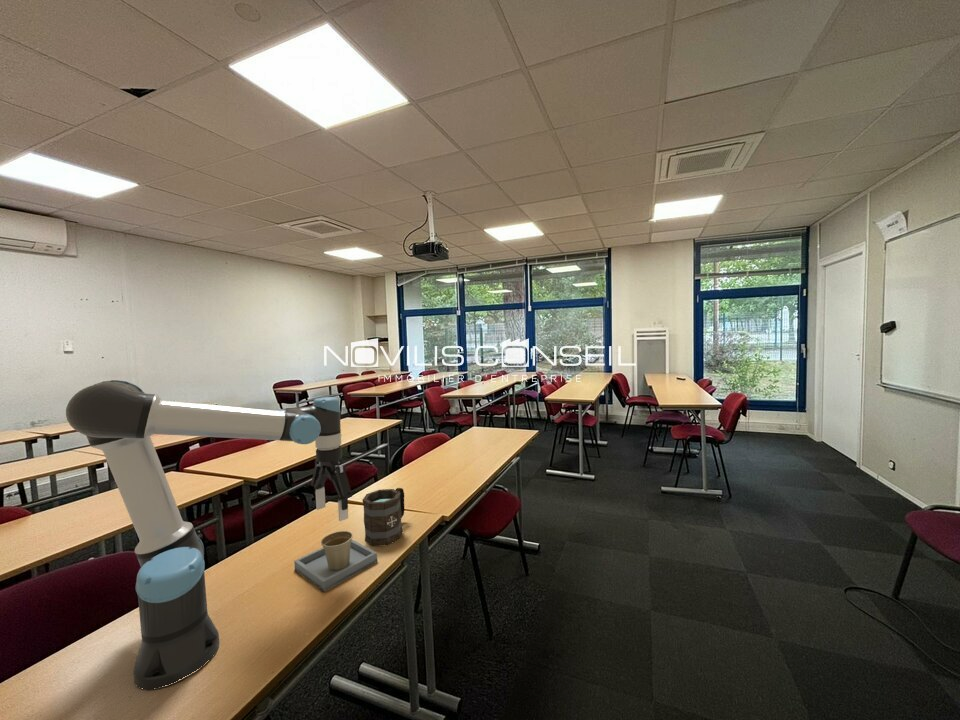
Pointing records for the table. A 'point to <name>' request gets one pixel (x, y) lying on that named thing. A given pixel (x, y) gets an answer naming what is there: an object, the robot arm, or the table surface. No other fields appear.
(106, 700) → the table surface
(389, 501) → the mug
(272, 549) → the table surface
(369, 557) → the tray
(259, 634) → the table surface
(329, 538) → the flower pot
